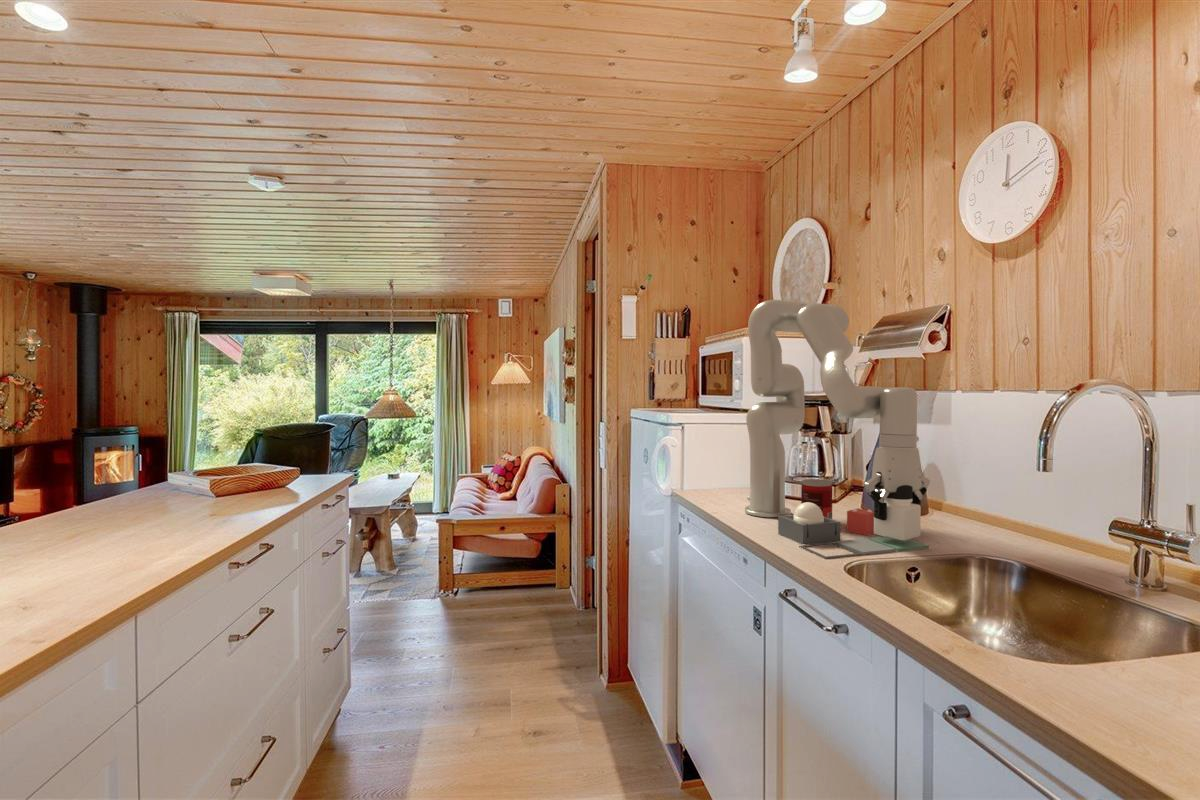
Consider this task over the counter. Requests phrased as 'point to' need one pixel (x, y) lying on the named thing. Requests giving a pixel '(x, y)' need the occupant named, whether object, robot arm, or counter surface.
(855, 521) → the red die
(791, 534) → the base
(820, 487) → the canned food
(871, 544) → the game board
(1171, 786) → the counter surface
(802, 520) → the dome
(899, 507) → the medicine bottle
